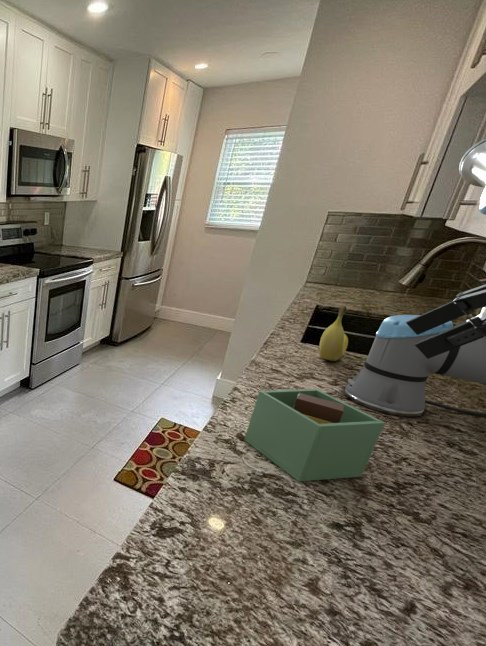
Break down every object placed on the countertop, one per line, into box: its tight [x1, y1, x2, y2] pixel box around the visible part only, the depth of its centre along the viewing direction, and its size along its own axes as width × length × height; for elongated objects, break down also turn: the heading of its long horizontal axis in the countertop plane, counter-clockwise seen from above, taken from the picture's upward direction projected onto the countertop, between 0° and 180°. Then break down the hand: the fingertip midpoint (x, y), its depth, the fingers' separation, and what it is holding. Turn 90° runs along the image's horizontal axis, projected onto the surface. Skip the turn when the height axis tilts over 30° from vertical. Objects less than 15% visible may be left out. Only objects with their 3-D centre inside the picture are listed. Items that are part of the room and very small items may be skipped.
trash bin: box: [243, 388, 386, 482], centre depth 81 cm, size 14×14×12 cm
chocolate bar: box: [293, 393, 344, 424], centre depth 80 cm, size 4×7×12 cm, turn 48°
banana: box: [318, 305, 349, 362], centre depth 132 cm, size 23×6×20 cm, turn 130°
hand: (415, 339), depth 69 cm, fingers open, 13 cm apart
